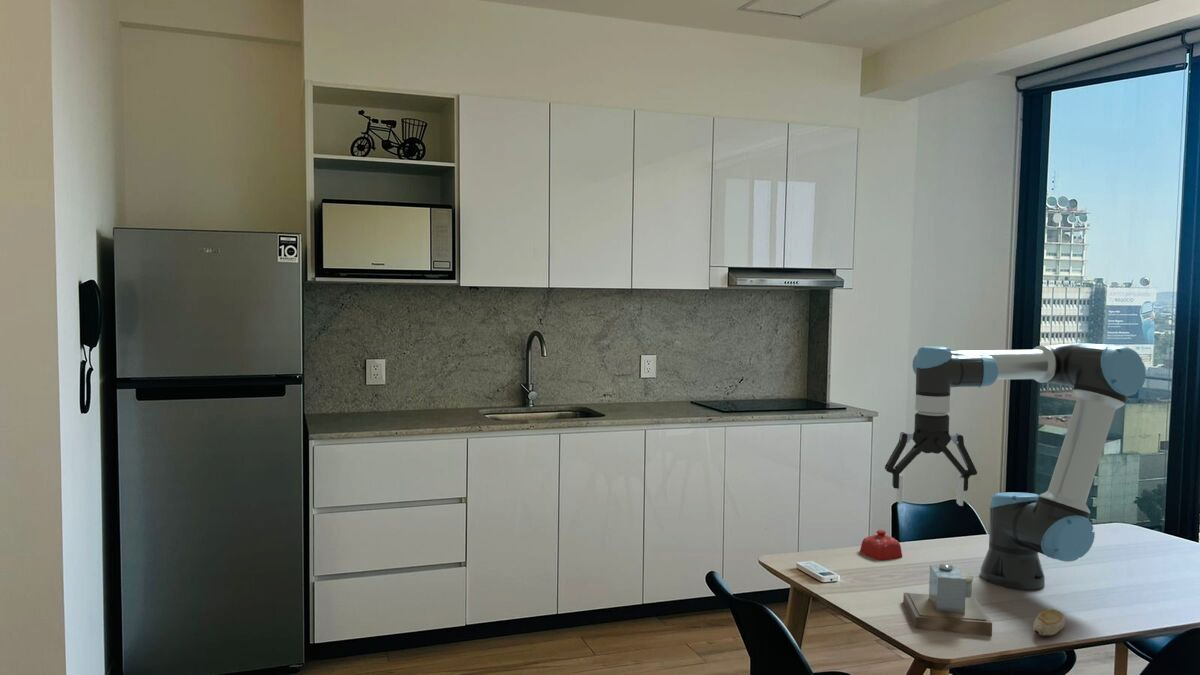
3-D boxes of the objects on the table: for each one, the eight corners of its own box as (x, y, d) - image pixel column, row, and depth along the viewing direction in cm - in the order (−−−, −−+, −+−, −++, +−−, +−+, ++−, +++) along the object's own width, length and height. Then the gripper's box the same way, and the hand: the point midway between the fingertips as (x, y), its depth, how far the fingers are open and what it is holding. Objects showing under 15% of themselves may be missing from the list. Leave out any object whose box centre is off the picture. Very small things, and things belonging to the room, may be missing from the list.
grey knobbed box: (964, 614, 196) (966, 575, 196) (936, 612, 197) (938, 573, 197) (955, 600, 205) (957, 563, 205) (928, 598, 206) (930, 561, 206)
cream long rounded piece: (1053, 629, 188) (1048, 647, 189) (1073, 610, 198) (1068, 628, 199) (1028, 618, 191) (1023, 636, 192) (1048, 600, 202) (1043, 617, 202)
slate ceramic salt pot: (969, 599, 216) (970, 572, 215) (974, 607, 210) (975, 579, 210) (945, 597, 217) (946, 571, 216) (950, 605, 211) (951, 578, 211)
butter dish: (877, 568, 239) (878, 537, 239) (850, 556, 250) (851, 526, 250) (911, 563, 244) (912, 533, 243) (882, 552, 255) (883, 523, 254)
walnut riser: (973, 610, 208) (974, 596, 208) (991, 636, 192) (992, 621, 192) (903, 604, 211) (903, 591, 211) (915, 630, 195) (915, 616, 195)
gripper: (983, 412, 207) (980, 501, 208) (873, 409, 210) (871, 497, 211) (993, 416, 199) (990, 509, 200) (879, 413, 202) (877, 505, 204)
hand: (929, 503), depth 206 cm, fingers open, 13 cm apart
